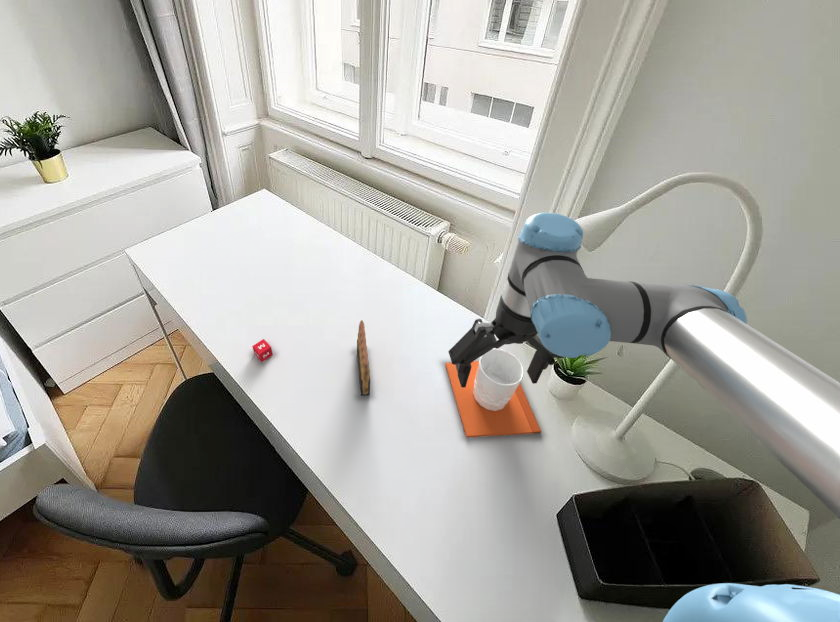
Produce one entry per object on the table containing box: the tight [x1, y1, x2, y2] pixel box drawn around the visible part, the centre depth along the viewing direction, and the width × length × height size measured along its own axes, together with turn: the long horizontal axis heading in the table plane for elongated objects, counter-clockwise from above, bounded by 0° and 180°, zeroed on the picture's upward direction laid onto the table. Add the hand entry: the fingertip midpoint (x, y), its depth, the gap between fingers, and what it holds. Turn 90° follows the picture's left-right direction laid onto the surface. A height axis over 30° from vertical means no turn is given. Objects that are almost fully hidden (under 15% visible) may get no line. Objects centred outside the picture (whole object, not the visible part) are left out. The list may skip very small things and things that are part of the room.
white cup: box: [473, 348, 525, 411], centre depth 79 cm, size 8×8×10 cm
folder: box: [444, 360, 542, 438], centre depth 82 cm, size 16×14×1 cm
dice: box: [252, 338, 274, 363], centre depth 90 cm, size 3×3×3 cm
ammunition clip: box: [356, 319, 371, 397], centre depth 83 cm, size 11×2×12 cm, turn 2°
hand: (496, 379), depth 78 cm, fingers open, 13 cm apart
